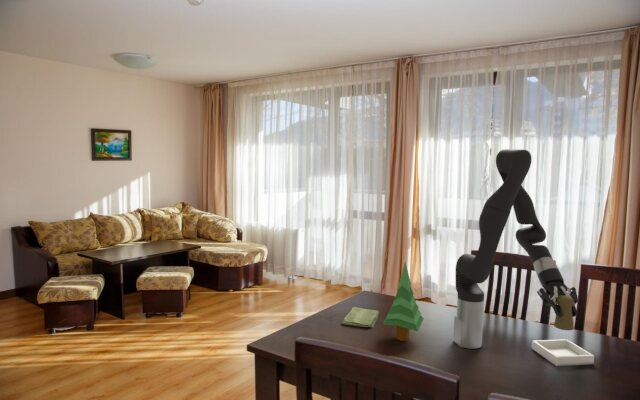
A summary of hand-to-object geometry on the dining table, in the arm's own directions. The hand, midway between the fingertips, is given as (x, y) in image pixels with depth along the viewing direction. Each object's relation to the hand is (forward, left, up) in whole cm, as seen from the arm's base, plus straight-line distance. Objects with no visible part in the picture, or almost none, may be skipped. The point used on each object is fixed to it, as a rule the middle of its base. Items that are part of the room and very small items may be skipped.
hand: (568, 315), depth 151 cm
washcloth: (-62, +42, -16) cm, 77 cm away
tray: (0, +2, -15) cm, 15 cm away
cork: (0, +2, -5) cm, 5 cm away
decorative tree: (-51, +22, -15) cm, 58 cm away
